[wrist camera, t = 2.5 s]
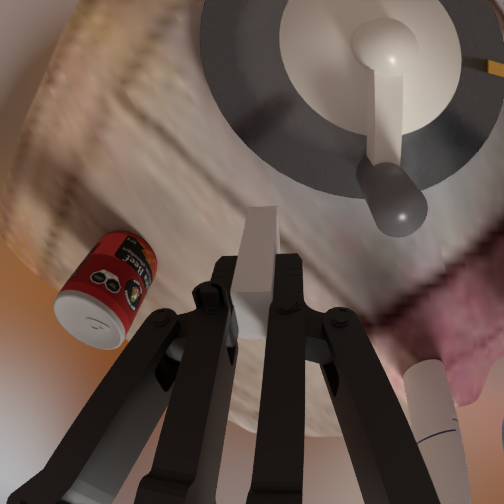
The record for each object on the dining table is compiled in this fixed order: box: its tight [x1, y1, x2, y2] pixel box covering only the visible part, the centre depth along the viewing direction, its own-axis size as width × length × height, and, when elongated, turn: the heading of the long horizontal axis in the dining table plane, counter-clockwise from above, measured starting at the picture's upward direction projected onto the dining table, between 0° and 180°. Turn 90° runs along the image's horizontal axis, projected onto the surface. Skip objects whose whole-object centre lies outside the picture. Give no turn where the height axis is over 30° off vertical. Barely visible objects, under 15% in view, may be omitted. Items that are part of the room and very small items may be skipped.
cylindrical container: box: [403, 359, 472, 504], centre depth 33 cm, size 7×7×25 cm
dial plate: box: [200, 0, 504, 201], centre depth 19 cm, size 26×26×2 cm
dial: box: [279, 0, 461, 237], centre depth 17 cm, size 19×14×8 cm
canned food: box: [53, 231, 157, 350], centre depth 31 cm, size 8×8×11 cm
